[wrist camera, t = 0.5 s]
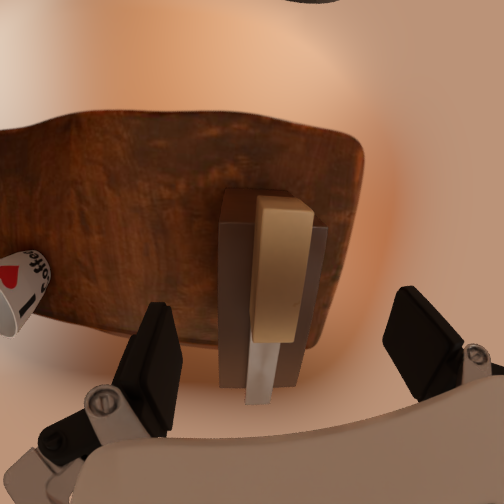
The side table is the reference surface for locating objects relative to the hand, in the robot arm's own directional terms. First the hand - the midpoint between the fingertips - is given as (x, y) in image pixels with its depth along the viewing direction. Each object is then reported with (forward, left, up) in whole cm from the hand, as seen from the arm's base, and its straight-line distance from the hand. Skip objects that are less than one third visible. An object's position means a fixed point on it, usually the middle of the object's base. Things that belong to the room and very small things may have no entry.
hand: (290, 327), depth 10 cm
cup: (-14, -26, -18) cm, 34 cm away
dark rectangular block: (+3, -3, -17) cm, 18 cm away
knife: (+3, -3, -5) cm, 7 cm away
